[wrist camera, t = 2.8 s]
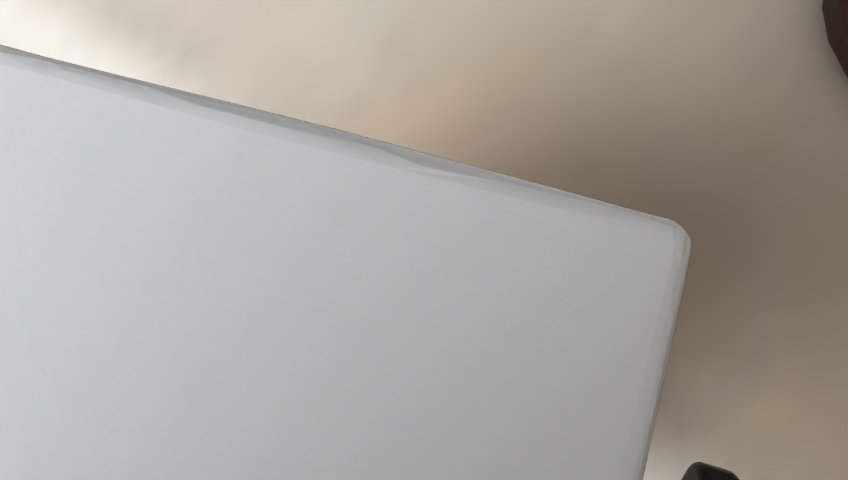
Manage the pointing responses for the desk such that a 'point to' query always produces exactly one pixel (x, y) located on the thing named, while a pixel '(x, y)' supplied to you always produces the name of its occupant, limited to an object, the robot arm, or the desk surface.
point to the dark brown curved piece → (837, 28)
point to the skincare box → (306, 300)
